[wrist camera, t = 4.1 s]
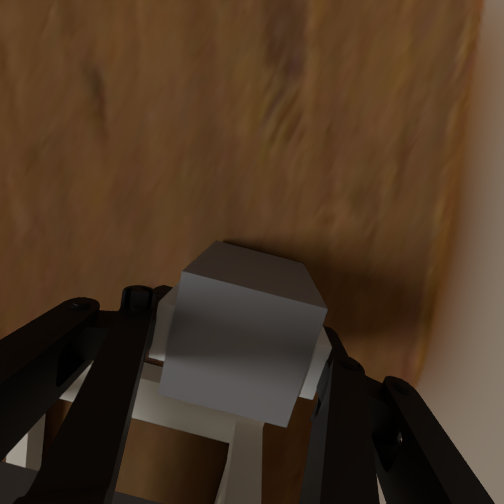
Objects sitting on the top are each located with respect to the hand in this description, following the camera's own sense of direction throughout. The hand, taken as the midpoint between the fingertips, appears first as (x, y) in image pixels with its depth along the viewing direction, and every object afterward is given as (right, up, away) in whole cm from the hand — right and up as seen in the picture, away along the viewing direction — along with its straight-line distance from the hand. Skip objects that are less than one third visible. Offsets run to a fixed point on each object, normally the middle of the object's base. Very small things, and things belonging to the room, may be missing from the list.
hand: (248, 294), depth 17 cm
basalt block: (0, 0, 0) cm, 0 cm away
